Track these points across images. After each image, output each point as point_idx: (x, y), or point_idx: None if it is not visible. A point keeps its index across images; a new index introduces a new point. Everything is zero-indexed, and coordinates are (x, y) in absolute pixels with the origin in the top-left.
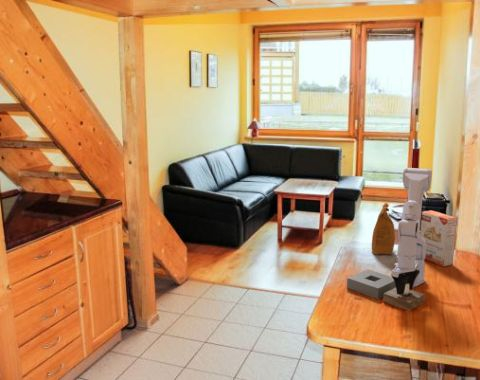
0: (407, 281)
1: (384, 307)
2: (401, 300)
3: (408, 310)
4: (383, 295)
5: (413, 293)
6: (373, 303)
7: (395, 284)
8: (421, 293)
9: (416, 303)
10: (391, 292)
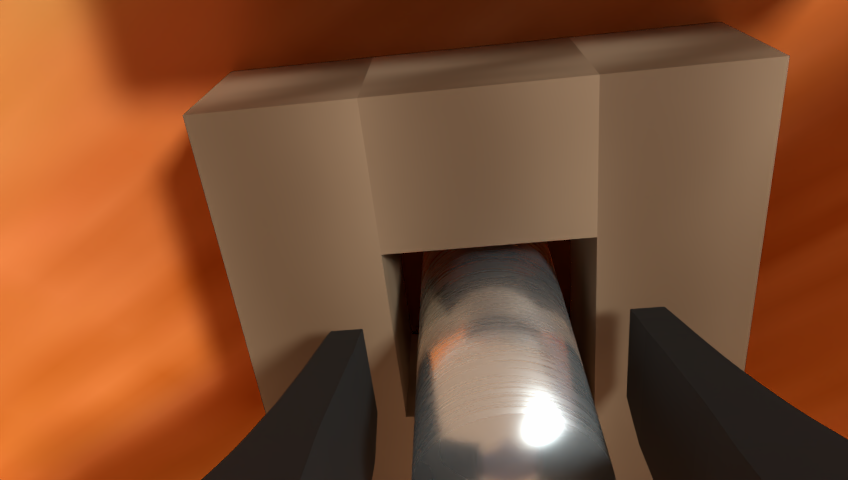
0: (687, 446)
1: (105, 212)
2: None
3: None
4: (195, 107)
5: None
6: (35, 23)
7: (247, 438)
8: None
9: None
10: (356, 178)
